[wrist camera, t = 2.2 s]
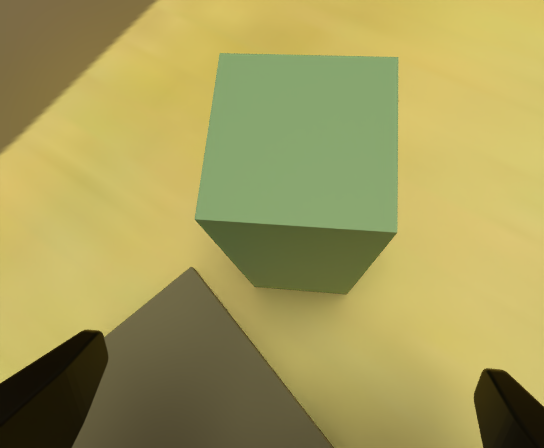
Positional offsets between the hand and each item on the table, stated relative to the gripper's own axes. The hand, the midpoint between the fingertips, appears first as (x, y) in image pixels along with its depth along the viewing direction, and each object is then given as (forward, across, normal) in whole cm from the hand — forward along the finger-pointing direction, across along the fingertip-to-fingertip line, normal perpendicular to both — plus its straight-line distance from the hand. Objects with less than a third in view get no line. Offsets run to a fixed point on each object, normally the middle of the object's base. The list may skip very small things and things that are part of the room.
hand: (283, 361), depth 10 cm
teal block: (+12, 0, +4) cm, 13 cm away
